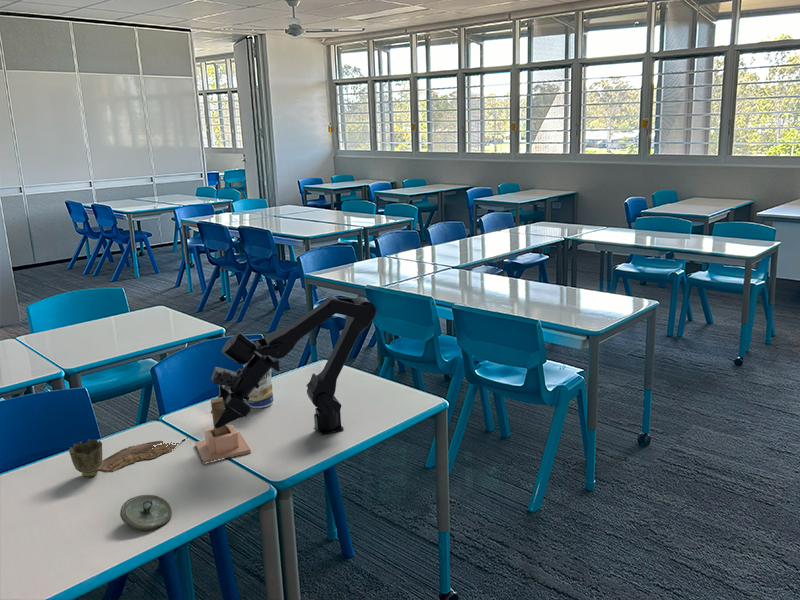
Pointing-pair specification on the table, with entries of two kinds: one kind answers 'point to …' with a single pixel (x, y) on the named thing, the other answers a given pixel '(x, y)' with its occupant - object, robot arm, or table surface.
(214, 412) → the brown wooden block
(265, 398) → the beverage bottle
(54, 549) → the table surface
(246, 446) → the terracotta holder
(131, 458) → the wooden fragment
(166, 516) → the lid
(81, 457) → the cup
